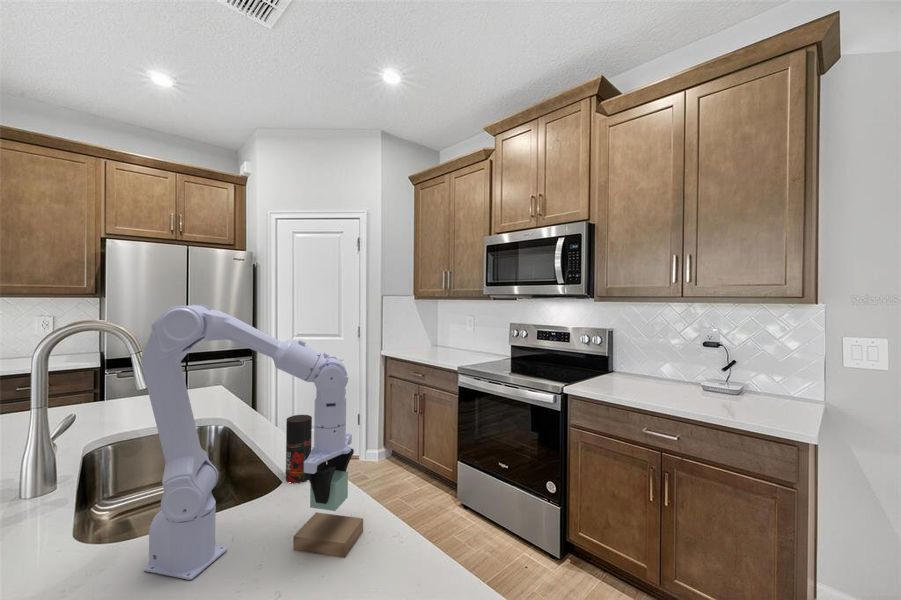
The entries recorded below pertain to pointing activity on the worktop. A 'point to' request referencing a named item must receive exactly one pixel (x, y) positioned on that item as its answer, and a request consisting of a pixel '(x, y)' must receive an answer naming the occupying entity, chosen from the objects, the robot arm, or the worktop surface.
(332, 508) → the sage cube
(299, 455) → the deodorant
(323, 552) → the walnut block
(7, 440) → the worktop surface
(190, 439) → the robot arm
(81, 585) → the worktop surface
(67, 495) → the worktop surface
